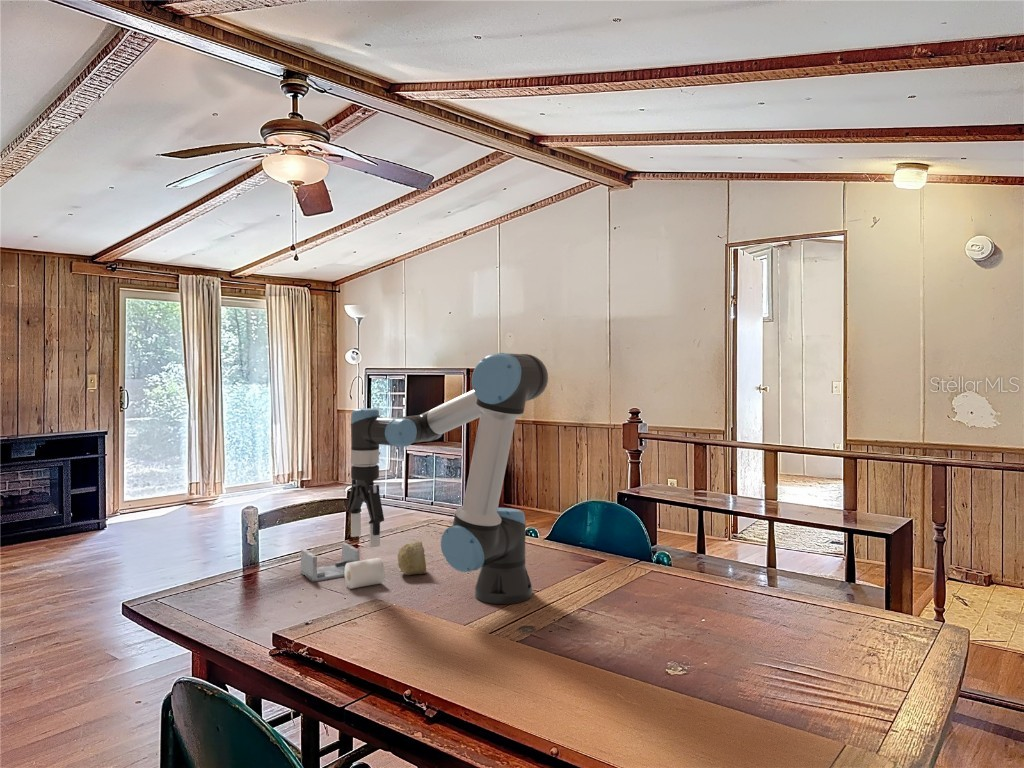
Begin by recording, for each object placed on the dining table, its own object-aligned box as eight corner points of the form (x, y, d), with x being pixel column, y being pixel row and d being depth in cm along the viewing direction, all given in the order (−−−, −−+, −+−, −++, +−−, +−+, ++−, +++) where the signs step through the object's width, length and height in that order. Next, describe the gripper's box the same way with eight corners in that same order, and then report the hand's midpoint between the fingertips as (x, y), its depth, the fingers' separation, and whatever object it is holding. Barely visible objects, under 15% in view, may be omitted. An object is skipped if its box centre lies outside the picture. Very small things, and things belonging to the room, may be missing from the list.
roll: (377, 584, 201) (373, 559, 203) (386, 581, 195) (382, 555, 197) (346, 590, 196) (342, 564, 198) (354, 587, 190) (351, 561, 192)
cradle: (346, 565, 217) (346, 542, 216) (359, 573, 207) (359, 550, 207) (300, 572, 209) (300, 549, 209) (312, 582, 200) (312, 557, 199)
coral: (438, 553, 204) (405, 541, 202) (423, 585, 204) (391, 573, 202) (436, 542, 213) (405, 531, 211) (422, 573, 213) (391, 561, 211)
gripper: (396, 469, 186) (396, 549, 187) (361, 458, 207) (360, 530, 208) (369, 471, 182) (369, 553, 183) (336, 460, 203) (336, 533, 204)
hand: (365, 541), depth 195 cm, fingers open, 13 cm apart
